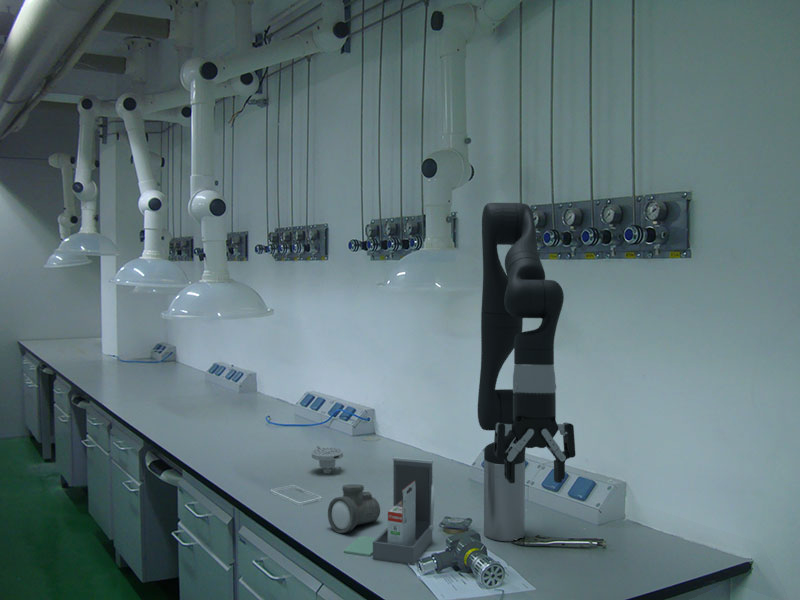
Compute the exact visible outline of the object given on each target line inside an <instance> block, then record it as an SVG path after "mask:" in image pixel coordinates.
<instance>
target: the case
mask: <svg viewBox="0 0 800 600" xmlns="http://www.w3.org/2000/svg"><path fill="white" fill-rule="evenodd" d="M392 460H393V507H394V506H395V505H396V504H398V503H399V502H400V501H401V500H402V490H403V489H404V488H406V487H407V486H408V485H409V484H411V483H412V482H413V481H414V480H415V486H416V498H415V503H416V506H415V507H416V508H415V544H414V545H413V546H405V545H397V544H390V543H387V542H388V526H387V527H386V528H385V530H383V532H381V533H380V534H379V535H378V537H375V538H376V539H375V540H374V541H373V554H372V559H373V560H379V561H386V562H392V563H399V564H407V565H413V564H414V563H415V562H417V561H418V560H419V559H418V558H420V557H421V556H422V555H423V554H424V553H425V551H426V550H427V548H428V547H429V546H430V545H431V543H432V542H433V531H434V529H435V525H434V518H435V517H434V514H435V513H434V511H435V510H434V509H435V488H436V485H435V484H434V483H433V464H434V461H433V460H431V459H430V460H427V459H418V458H407V457H396V456H394V457H392ZM410 490H411V488H409V490H407V493H408V492H409V491H410ZM417 559H418V560H417ZM416 560H417V561H416ZM408 563H409V564H408ZM415 564H416V563H415ZM415 564H414V565H415Z"/></svg>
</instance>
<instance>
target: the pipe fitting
mask: <svg viewBox="0 0 800 600" xmlns="http://www.w3.org/2000/svg"><path fill="white" fill-rule="evenodd" d="M364 489H365V485H364V484H349V483H348V484H343V485H342V489H341V490H342V491H343V492H342V493H343V495H342V496H337V497H335V498H333V499H332V500H331V501H330V502H329V505H328V507H327V519H328V523H329V525H330V527H331V528H332V530H333V531H335V533H338V534H345V533H350V532H351V531H352V530H353V529H355V527H356V526H359V525H363V524H369V523H374V522H375V521H377V520H378V519H379V518H380V515H381V506H380V503H379V501H378V500H377V499H376V498H375V497H373V496H372V493H371V492H370V491H364Z"/></svg>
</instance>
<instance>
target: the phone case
mask: <svg viewBox="0 0 800 600" xmlns="http://www.w3.org/2000/svg"><path fill="white" fill-rule="evenodd" d="M288 489H294V490H296V489H298V490H300V491H302V492H303V493H304V494H306V495H308V496H310V497H313V499H307V500H305V501H297V500H295V499H293V498H290V497H289V496H287V495H285V494H282V493H279V492H280V491H284V490H288ZM270 494H272V495H274V496H276V497H278V498H281V499H283V500H285V501H287V502H290V503H291V504H294V505H296V506H297V507H298V506H299V507H303V506H304V505H305V504H306V503H309V502H313V501H317V500H318V502H322V501H323V497H322V496H320V495H319V494H316V493H314V492H311V491H309V490H306V489H305V488H302V487H299V486H297V485H295V484H289V485H286V486H285V485H284V486H281V487H276V488H271V489H270Z"/></svg>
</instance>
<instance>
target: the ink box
mask: <svg viewBox="0 0 800 600" xmlns="http://www.w3.org/2000/svg"><path fill="white" fill-rule="evenodd" d="M409 488H411V490H410V491H409V492H408V493H407V490H409ZM415 498H416V486H415V480H414V481H413V482H412V483H411V484H409V485H408V486H407V487H406V488H404V489H403V490H402V500H401V501H400V502H399V503H398V504H396V505H395V506H394V505H393V506H392V507H391V508H389V510H387V527H388V542H387V543H390V544H397V545H405V546H413V545H414V544H415V543H416V540H415V508H416V507H415V506H416V503H415Z"/></svg>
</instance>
